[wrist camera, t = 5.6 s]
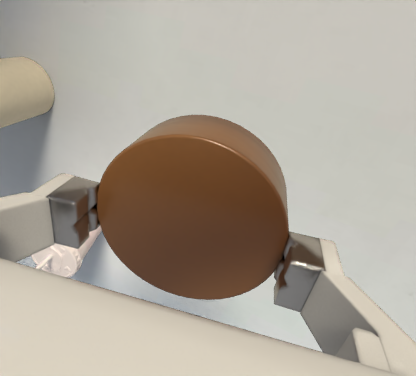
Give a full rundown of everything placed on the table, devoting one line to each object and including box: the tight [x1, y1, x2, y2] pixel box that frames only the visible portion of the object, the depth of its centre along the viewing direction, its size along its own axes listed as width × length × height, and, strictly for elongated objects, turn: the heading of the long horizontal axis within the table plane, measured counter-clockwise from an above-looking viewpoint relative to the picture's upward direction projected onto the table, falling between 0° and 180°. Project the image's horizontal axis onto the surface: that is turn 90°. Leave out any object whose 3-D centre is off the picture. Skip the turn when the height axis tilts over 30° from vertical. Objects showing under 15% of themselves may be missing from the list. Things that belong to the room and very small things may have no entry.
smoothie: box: [31, 226, 102, 278], centre depth 37 cm, size 6×6×14 cm
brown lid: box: [97, 115, 289, 300], centre depth 11 cm, size 7×7×2 cm
